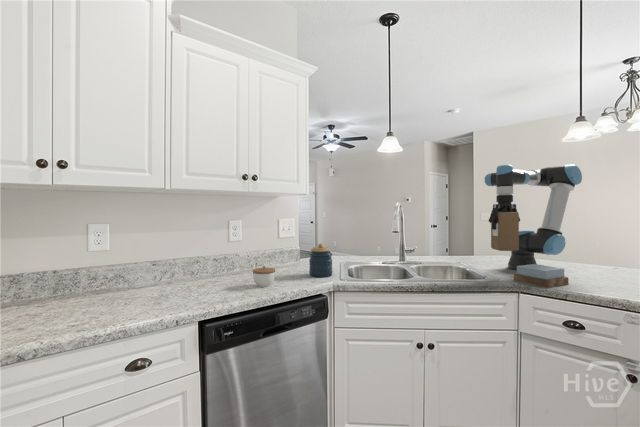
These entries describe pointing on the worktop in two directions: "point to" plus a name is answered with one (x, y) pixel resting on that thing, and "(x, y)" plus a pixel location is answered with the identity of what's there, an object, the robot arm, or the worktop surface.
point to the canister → (320, 261)
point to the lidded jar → (263, 276)
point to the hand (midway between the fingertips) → (504, 235)
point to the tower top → (540, 271)
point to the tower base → (541, 280)
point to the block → (506, 232)
